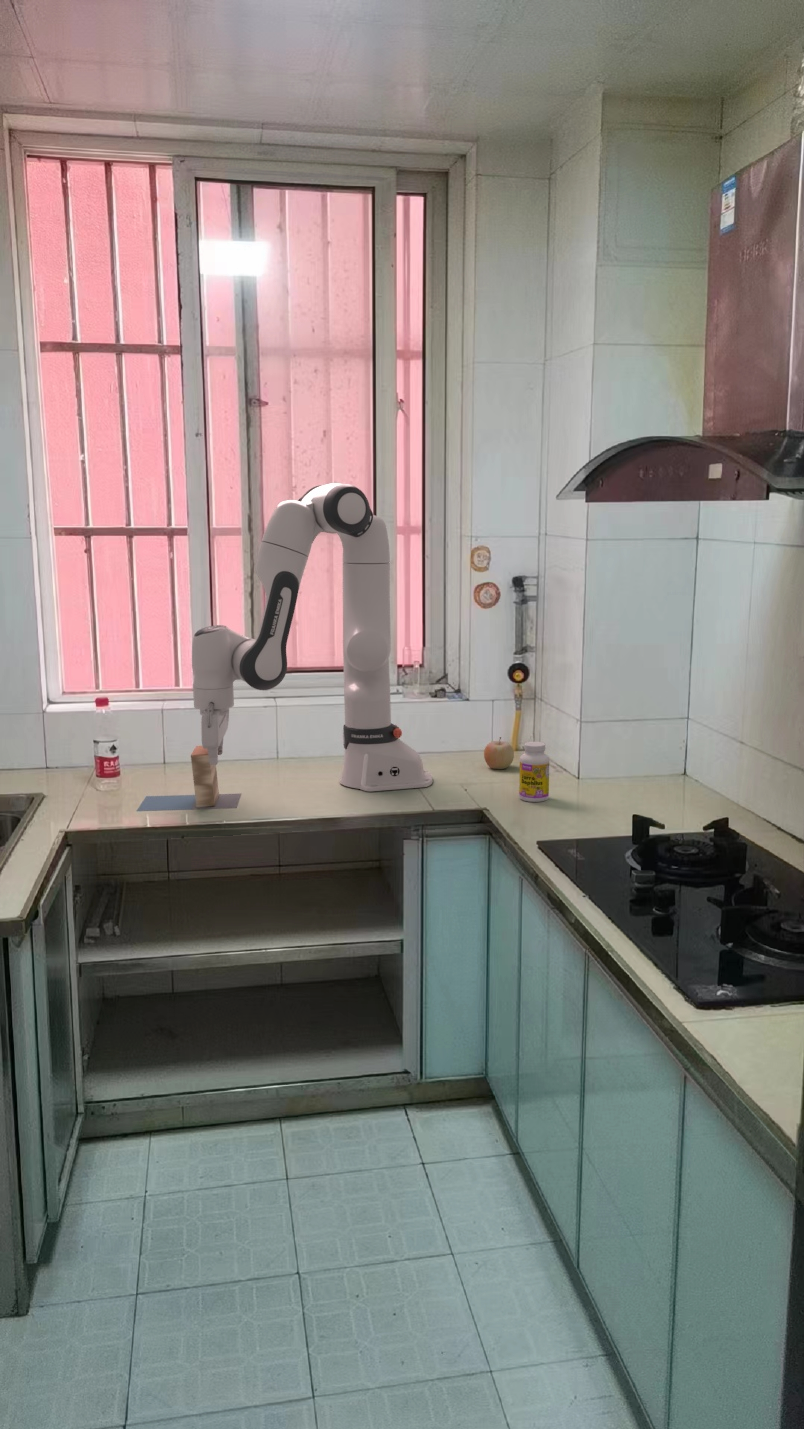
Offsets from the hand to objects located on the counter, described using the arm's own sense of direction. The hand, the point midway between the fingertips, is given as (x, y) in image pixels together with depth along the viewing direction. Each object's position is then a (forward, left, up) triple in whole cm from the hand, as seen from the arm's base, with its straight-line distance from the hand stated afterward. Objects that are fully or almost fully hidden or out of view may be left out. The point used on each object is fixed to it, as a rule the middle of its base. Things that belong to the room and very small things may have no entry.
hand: (216, 759), depth 240 cm
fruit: (-68, -25, -11) cm, 73 cm away
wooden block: (+2, 0, -10) cm, 10 cm away
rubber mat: (+6, 0, -10) cm, 12 cm away
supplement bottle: (-72, +4, -11) cm, 73 cm away
